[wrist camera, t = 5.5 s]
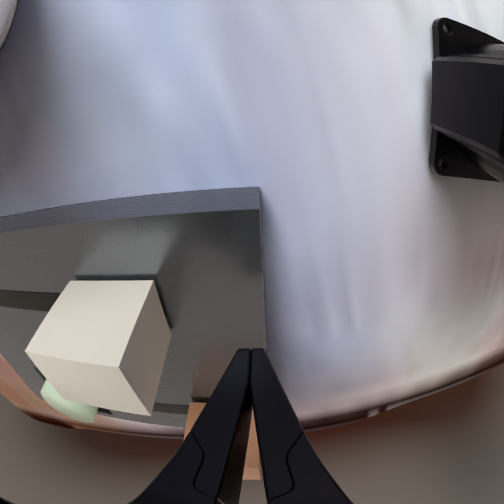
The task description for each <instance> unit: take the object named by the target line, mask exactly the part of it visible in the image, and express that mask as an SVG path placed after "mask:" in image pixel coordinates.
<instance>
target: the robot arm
mask: <svg viewBox="0 0 504 504" xmlns="http://www.w3.org/2000/svg"><path fill="white" fill-rule="evenodd" d="M443 25H444V26H445V27H446V28H447V30H448V34H446V33H445V32H444V30H443ZM432 28H433V43H434V60H433V62H432V109H431V123H432V137H431V147H430V156H429V165H430V167H431V169H432V170H433V171H434V172H436V173H437V174H439V175H442V176H453V177H463V178H472V179H481V180H489V181H497V182H502V183H504V42H502V41H500V40H498V39H496V38H494V37H492V36H490V35H488V34H486V33H483V32H481V31H479V30H477V29H474V28H472V27H469V26H467V25H465V24H462V23H459V22H457V21H454V20H451V19H449V18H438V19H436V20H434V22H433V26H432ZM441 158H443V160H444V162H443V164H442V165H441V166H439V161H440V159H441ZM252 409H253V414H254V421H255V428H256V435H257V442H258V448H259V455H260V462H261V468H262V475H263V481H264V487H265V494H266V500H267V504H353V503H352V502H351V500H350V499H349V498H348V497H347V496H346V495H345V493H344V492H343V491H342V490H341V488H340V487H339V486H338V484H337V483H336V481H335V480H334V479H333V477H332V476H331V475H330V473H329V472H328V471H327V469H326V468H325V466H324V465H323V464H322V462H321V461H320V459H319V457H318V456H317V455H316V453H315V451H314V449H313V447H312V445H311V444H310V442H309V440H308V438H307V436H306V434H305V433H304V430H303V428H302V426H301V424H300V422H299V420H298V418H297V416H296V414H295V412H294V410H293V408H292V406H291V404H290V402H289V400H288V398H287V395H286V393H285V391H284V389H283V387H282V385H281V383H280V381H279V379H278V377H277V375H276V373H275V370H274V368H273V366H272V364H271V362H270V360H269V358H268V356H267V353H266V351H265V350H264V349H263V348H253V349H249V348H240V349H238V350H237V351H236V353H235V355H234V356H233V358H232V360H231V362H230V363H229V365H228V367H227V369H226V370H225V372H224V374H223V376H222V377H221V379H220V381H219V383H218V384H217V386H216V388H215V389H214V391H213V393H212V395H211V396H210V398H209V400H208V401H207V403H206V405H205V406H204V408H203V410H202V411H201V413H200V415H199V417H198V418H197V420H196V422H195V423H194V425H193V427H192V428H191V430H190V431H191V432H189V433H188V435H187V436H186V438H185V439H184V441H183V443H182V444H181V446H180V447H179V449H178V450H177V452H176V453H175V454H174V456H173V457H172V458H171V460H170V461H169V462H168V464H167V465H166V466H165V467H164V468H163V469H162V471H161V472H160V473H159V474H158V475H157V476H156V477H155V479H154V480H153V481H152V482H151V483H150V484H149V486H148V487H147V488H146V489H145V490H144V491H143V492H142V493H141V494H140V495H139V496H138V497H137V498H135V499H134V500H133V501H131V502H130V503H128V504H239V498H240V492H241V486H242V479H243V473H244V466H245V459H246V453H247V446H248V439H249V432H250V425H251V418H252ZM0 504H14V503H12V502H10V501H8V500H5V499H4V498H1V497H0Z"/></svg>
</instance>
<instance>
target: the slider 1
mask: <svg viewBox="0 0 504 504" xmlns="http://www.w3.org/2000/svg"><path fill="white" fill-rule="evenodd" d="M171 336H172V335H171V332H170V329H169V326H168V323H167V320H166V317H165V314H164V311H163V308H162V305H161V302H160V299H159V296H158V293H157V290H156V287H155V283H154V280H137V281H70V282H69V283H68V284H67V286H66V287H65V289H64V290H63V291H62V293H61V294H60V296H59V297H58V299H57V300H56V302H55V303H54V305H53V306H52V308H51V309H50V311H49V312H48V314H47V315H46V317H45V318H44V320H43V322H42V323H41V325H40V326H39V328H38V330H37V331H36V333H35V334H34V336H33V338H32V339H31V341H30V343H29V344H28V346H27V348H26V350H25V352H26V353H27V355H28V356H29V357H30V359H31V360H32V361H33V363H34V364H35V365H36V366H37V368H38V369H39V370H40V371H41V373H42V374H43V375H44V376H45V378H46V379H47V380H48V381H49V382H50V384H51V385H52V386H53V387H54V388H55V389H56V391H57V392H58V393H59V394H60V395H61V396H62V397H63V398H64V399H66V400H70V401H74V402H78V403H82V404H86V405H91V406H95V407H100V408H105V409H110V410H116V411H121V412H127V413H133V414H140V415H147V416H151V414H152V410H153V406H154V402H155V398H156V393H157V389H158V385H159V381H160V377H161V374H162V370H163V366H164V362H165V358H166V354H167V351H168V347H169V343H170V340H171Z"/></svg>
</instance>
